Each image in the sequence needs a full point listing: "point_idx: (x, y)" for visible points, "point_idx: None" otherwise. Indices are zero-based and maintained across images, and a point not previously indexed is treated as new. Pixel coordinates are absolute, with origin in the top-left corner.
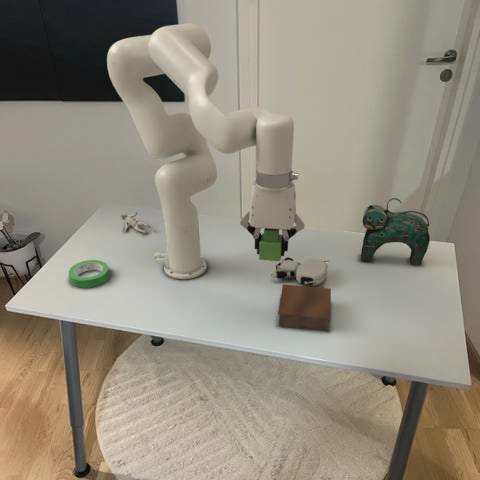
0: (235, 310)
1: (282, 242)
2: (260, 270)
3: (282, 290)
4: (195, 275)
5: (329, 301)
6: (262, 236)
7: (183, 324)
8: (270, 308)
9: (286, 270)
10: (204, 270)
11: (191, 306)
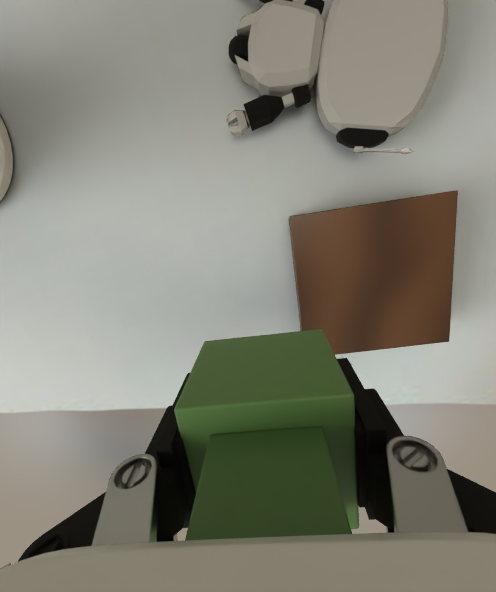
0: (182, 305)
1: (367, 510)
2: (176, 67)
3: (296, 253)
4: (1, 190)
5: (449, 267)
6: (193, 457)
7: (96, 381)
8: (265, 271)
9: (278, 88)
10: (8, 148)
11: (76, 319)
